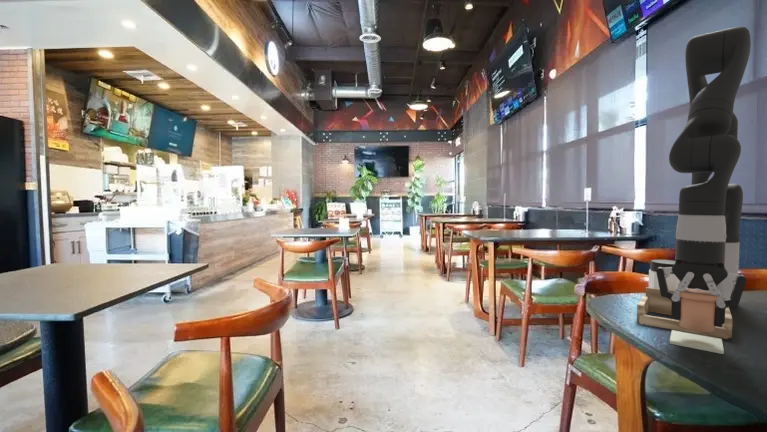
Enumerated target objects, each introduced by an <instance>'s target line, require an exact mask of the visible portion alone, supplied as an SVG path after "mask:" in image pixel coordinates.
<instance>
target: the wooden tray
mask: <svg viewBox="0 0 767 432" xmlns="http://www.w3.org/2000/svg"><path fill="white" fill-rule="evenodd" d="M668 291H670V292H672V293H674V291H673V290H668ZM722 298H723V299H726V298H725V297H722ZM679 301H680V299H679ZM636 306H637V307H636V323H638V325H640V324H641V325H644V324H645V325H646V326H651V327H657V328H662V329H668V330H671V331H672V330H674V331H680V332H685V333H691V334H696V335H702V336H708V337H713V338H719V339H722V340H723V339H724V340H729V339H732V338H733V337H732V336H733V317H732V314H731V310H730V307H727V308H726V309H725V323H724V324H720V325H721V326H720V327H716V326H715V331H714V332H700V331H694V330H690V329H686V328H684V327H681V326H680V325H679V320H675V318H674V319H673V318H668V317H661V316H654V315H649V314H648V313H649V312H650V313H656V314H662V315H669V316H672V315H671V307H672V302H671V300H670V299H668V298H666V297H662V296H661V293H660V289H657V288H649V287H647V286H646V287H645V295H642V296H641V298H640V299H639V300H638V303H637V305H636ZM716 306H717V304H716Z"/></svg>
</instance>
